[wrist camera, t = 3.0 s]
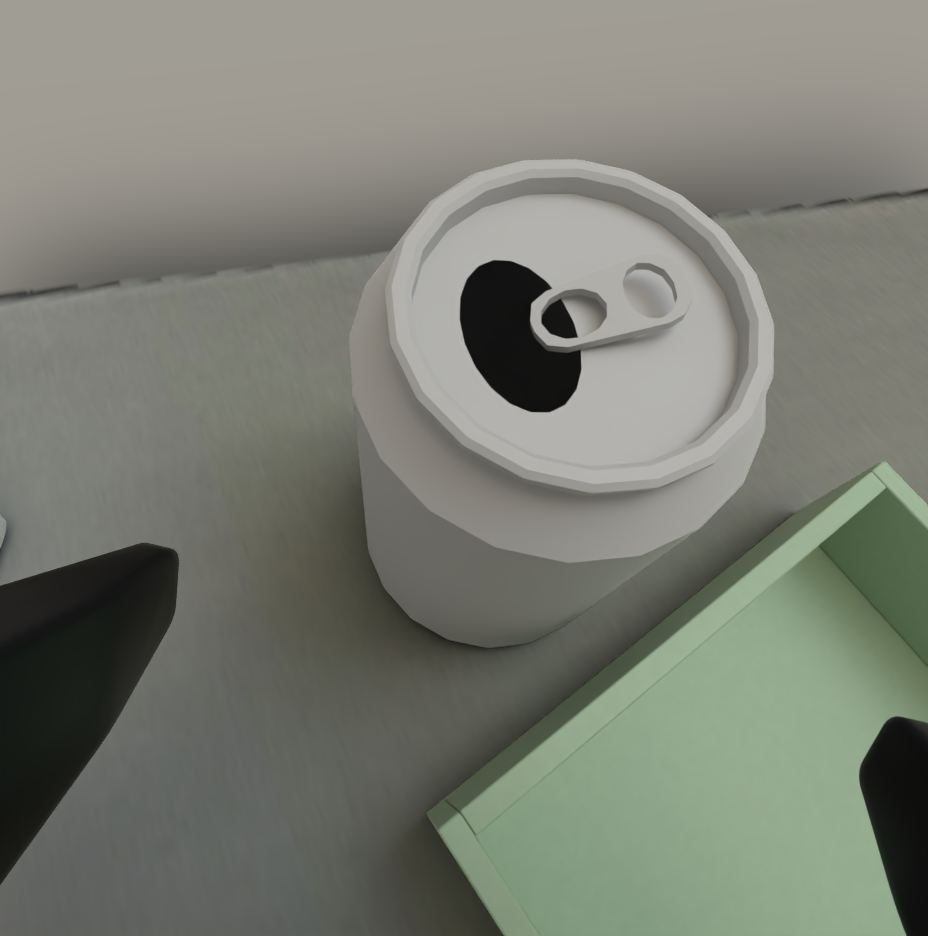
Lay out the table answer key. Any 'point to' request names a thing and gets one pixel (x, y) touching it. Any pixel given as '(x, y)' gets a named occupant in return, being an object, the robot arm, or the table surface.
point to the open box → (721, 748)
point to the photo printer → (2, 529)
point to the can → (550, 394)
